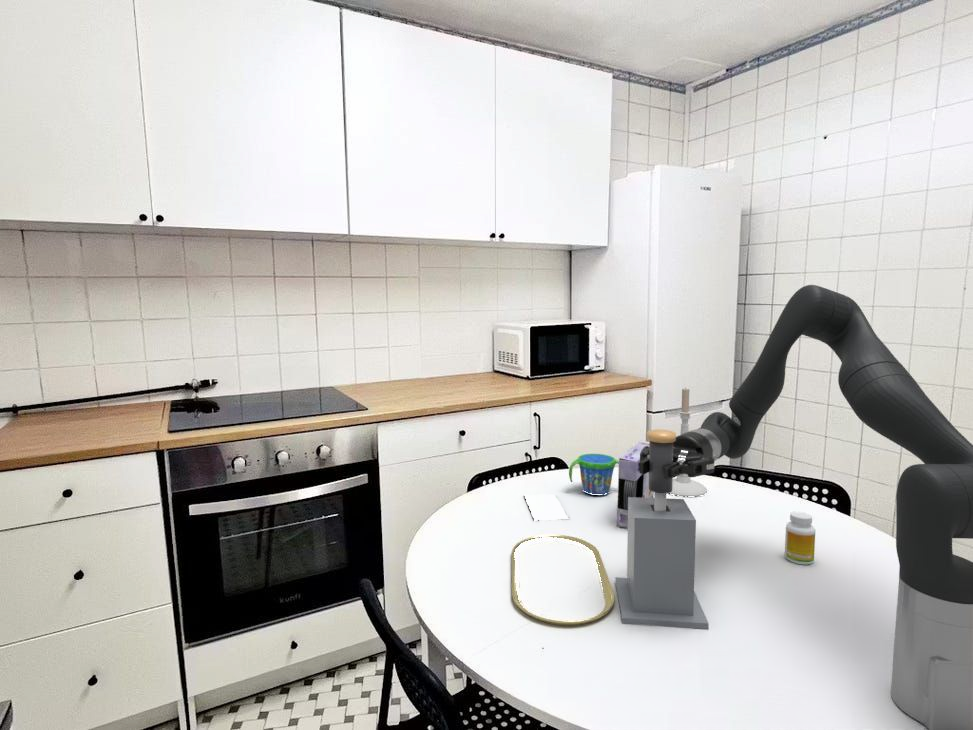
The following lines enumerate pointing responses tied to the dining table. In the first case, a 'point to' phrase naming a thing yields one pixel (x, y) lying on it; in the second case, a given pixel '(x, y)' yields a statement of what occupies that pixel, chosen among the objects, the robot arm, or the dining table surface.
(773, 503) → the dining table surface
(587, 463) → the snack cup
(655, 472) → the plunger
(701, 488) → the candlestick
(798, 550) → the supplement bottle
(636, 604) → the column
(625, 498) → the cake pan box
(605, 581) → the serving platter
